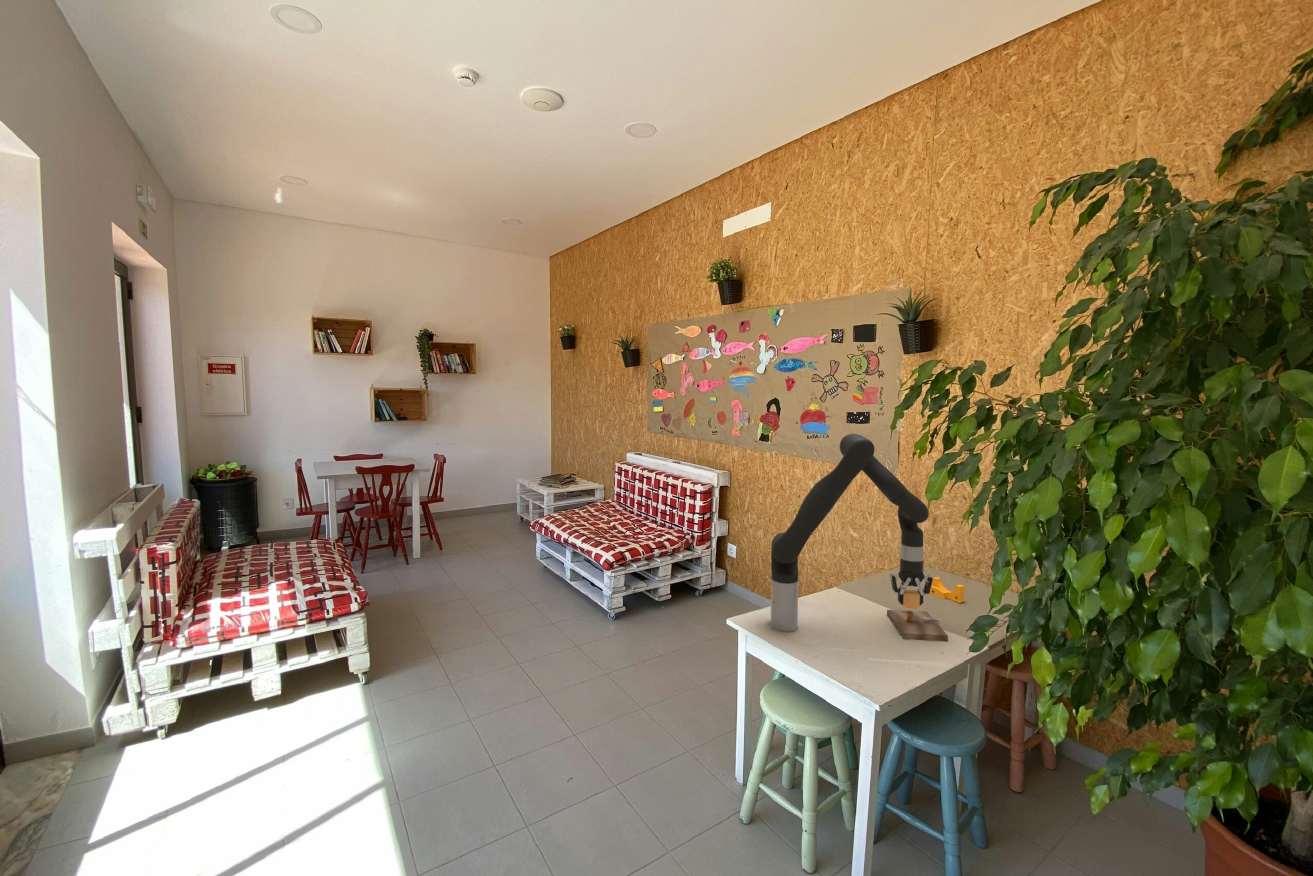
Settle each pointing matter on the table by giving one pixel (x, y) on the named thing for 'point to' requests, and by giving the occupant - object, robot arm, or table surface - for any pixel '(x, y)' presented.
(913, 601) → the orange rounded block
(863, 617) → the table surface
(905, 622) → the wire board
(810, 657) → the table surface
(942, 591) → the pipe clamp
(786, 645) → the table surface
